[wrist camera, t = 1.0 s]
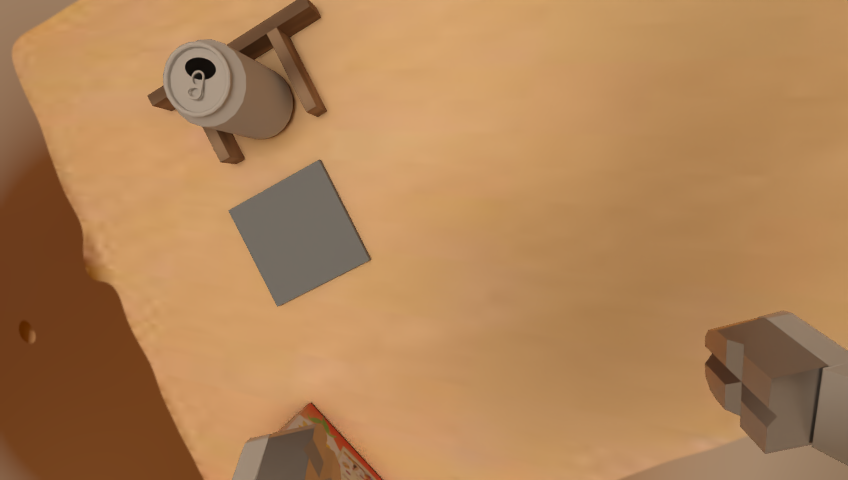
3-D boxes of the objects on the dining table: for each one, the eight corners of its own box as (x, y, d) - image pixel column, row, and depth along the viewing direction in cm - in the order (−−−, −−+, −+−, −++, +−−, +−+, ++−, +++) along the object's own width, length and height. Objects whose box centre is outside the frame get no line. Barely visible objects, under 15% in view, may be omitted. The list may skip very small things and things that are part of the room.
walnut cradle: (166, 101, 53) (147, 95, 50) (315, 7, 49) (304, -5, 47) (207, 180, 53) (190, 179, 50) (358, 92, 50) (350, 86, 47)
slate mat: (231, 210, 53) (228, 210, 53) (320, 160, 51) (318, 159, 50) (279, 305, 53) (277, 306, 53) (371, 259, 51) (369, 260, 51)
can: (300, 74, 50) (240, 37, 39) (291, 145, 51) (230, 130, 40) (236, 65, 51) (158, 27, 40) (228, 134, 52) (150, 117, 41)
